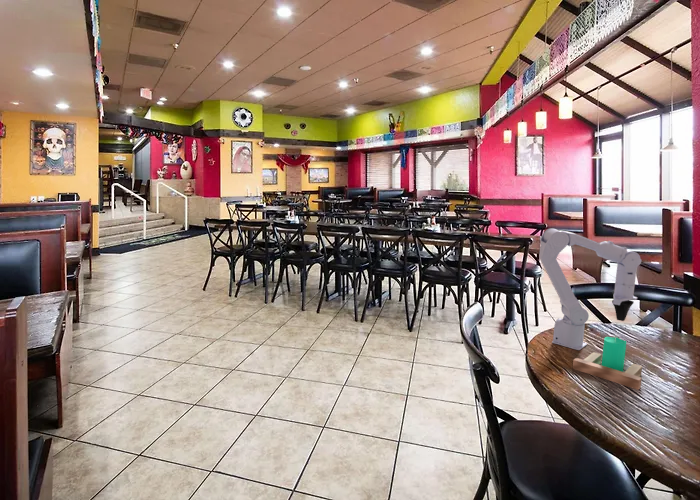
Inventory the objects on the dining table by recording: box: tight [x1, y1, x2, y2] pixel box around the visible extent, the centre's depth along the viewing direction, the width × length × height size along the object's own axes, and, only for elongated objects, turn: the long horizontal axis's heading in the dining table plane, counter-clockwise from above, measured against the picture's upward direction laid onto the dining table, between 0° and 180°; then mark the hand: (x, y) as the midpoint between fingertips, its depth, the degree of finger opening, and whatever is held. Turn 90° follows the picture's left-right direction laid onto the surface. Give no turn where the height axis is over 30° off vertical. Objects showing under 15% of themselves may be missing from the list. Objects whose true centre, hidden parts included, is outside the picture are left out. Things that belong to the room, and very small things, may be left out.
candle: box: [600, 335, 628, 372], centre depth 129 cm, size 6×6×12 cm
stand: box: [572, 351, 643, 391], centre depth 129 cm, size 18×11×3 cm, turn 41°
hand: (620, 320), depth 146 cm, fingers closed
